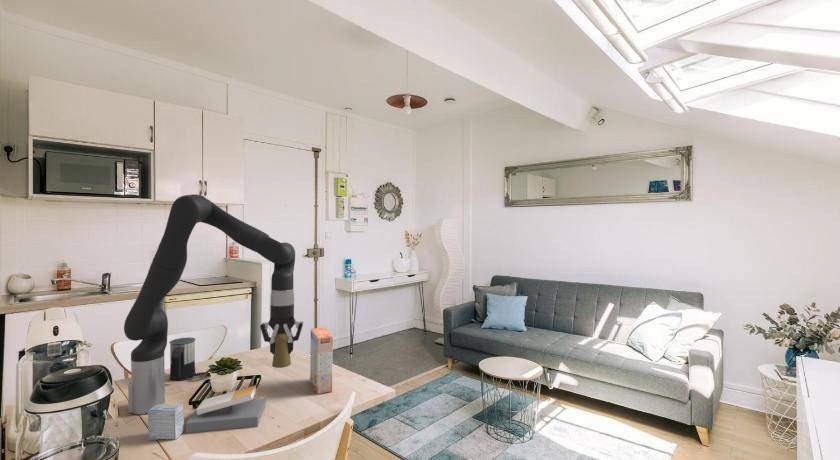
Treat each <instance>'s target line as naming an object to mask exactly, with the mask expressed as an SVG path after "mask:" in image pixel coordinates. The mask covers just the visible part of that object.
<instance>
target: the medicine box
mask: <svg viewBox="0 0 840 460" xmlns="http://www.w3.org/2000/svg"><path fill="white" fill-rule="evenodd" d="M184 413H185V412H184V403H165V404H157V405H156V406H154V407H153V408H152V409H150V410H149V411H148V413H147V427H148V428H147V430H148V435H147V436H148V440H149V441H154V440H156V441H158V439H166V440H177V439H179V437H180V436H181V435H182V434H183V433H184V432H185V418H184V417H185V415H184Z"/></svg>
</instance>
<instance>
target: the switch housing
mask: <svg viewBox="0 0 840 460" xmlns="http://www.w3.org/2000/svg"><path fill="white" fill-rule="evenodd" d="M198 407H199V405H198V406H197V408H198ZM197 408H196V409H195V410H194V411H193V413H192V414H191V416H190V417H189V418H188V420H187V421H186V423H185V433H186V434H195V433H204V432H213V431H226V430H234V429H235V430H236V429H247V428H255V427H259V424H260V421H261V419H262V416H263V413H264V411H265V408H266V398H265V397H262V398H253V399H252V400H249V401H246V402H242V403H238V404H235V405H231V406H228V407H224V408H221V409H217V410H213V411H210V412H206V413H203V414H199V415H197V411H196V410H197Z"/></svg>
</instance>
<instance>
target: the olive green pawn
mask: <svg viewBox="0 0 840 460" xmlns="http://www.w3.org/2000/svg"><path fill="white" fill-rule="evenodd" d="M274 341H275V350H274V354H273V357H272V363H271V366H272V367H273V368H275V369H276V368H279V369H280V368H281V369H283V368H286V367H287V368H288V367H290V366H291V365H292V361H291V359H292V358H291V354H289V353H288V343H289V337H287V335H286V333H277V334H276V336H275V337H274Z"/></svg>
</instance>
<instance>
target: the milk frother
mask: <svg viewBox="0 0 840 460" xmlns="http://www.w3.org/2000/svg"><path fill="white" fill-rule="evenodd" d="M168 344H169V345H170V346H169V347H170V349H169V350H170V357H169V360H170V361H169V362H170V363H169V364H170V366H169V367H170V369H169V380H170V381H173V382H176V381H177V382H178V381H179V382H180V381H185V380H189V379H192V378H194V377H198V376H204V375H206V377H211V376H210V373H208V371H207V370H206V371H205V372H203V371H202V372H198V373H196V362H195V361H196V359H195V358H196V354H195V353H196V350H195V347H196V338H195V337H191V336H190V337H188V336H187V337H180V338H175V339H172V340H170V341H169V342H168Z"/></svg>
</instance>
